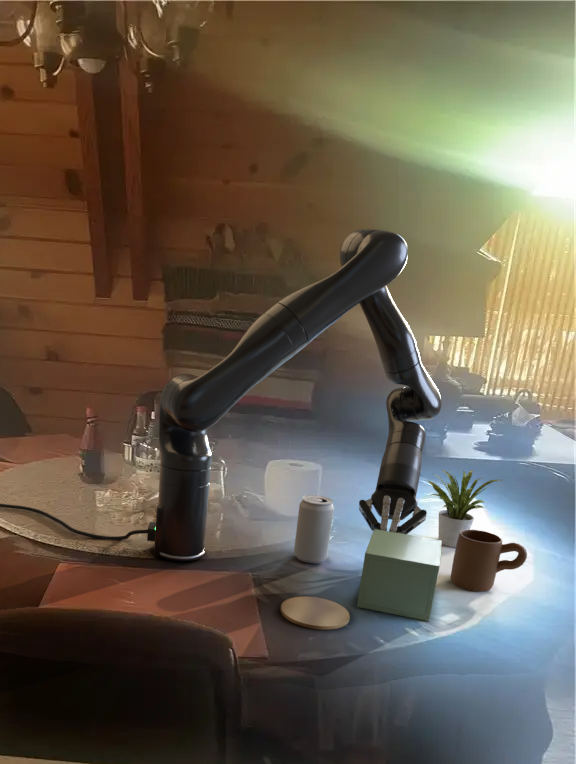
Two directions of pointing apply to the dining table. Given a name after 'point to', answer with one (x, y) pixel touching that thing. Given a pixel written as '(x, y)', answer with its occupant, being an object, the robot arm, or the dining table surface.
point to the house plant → (457, 507)
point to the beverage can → (313, 529)
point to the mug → (482, 559)
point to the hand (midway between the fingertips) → (384, 551)
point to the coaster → (315, 613)
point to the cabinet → (400, 574)
